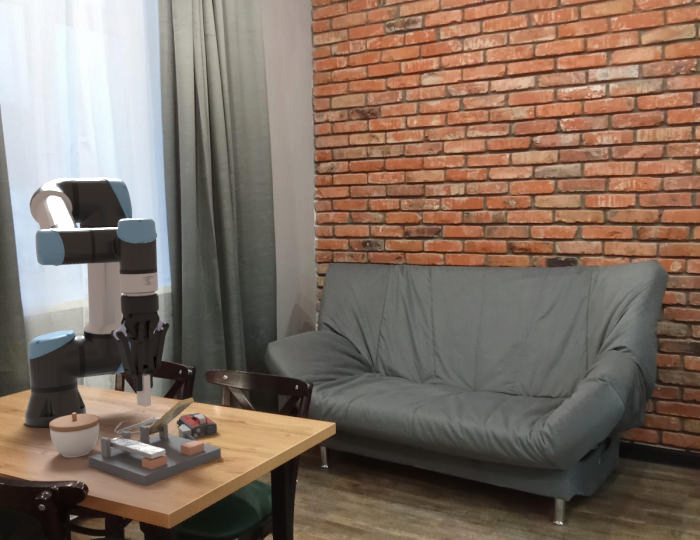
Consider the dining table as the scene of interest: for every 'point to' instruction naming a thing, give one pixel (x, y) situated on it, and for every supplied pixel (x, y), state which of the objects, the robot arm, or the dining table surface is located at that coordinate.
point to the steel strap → (137, 447)
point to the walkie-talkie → (195, 426)
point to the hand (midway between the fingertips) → (144, 404)
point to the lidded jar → (74, 434)
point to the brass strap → (170, 415)
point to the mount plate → (159, 473)
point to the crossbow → (136, 425)
